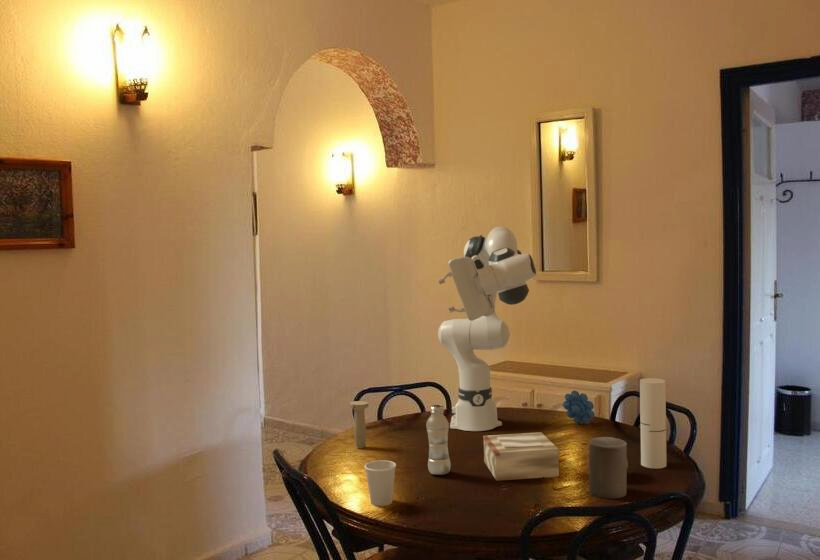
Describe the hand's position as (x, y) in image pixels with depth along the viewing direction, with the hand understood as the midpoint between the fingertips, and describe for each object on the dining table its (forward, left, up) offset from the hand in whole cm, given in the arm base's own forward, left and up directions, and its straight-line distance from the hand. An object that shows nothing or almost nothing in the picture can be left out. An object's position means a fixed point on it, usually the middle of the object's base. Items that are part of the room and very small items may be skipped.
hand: (444, 296), depth 237 cm
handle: (-13, -28, -50) cm, 59 cm away
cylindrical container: (+23, +57, -50) cm, 80 cm away
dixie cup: (+39, -24, -50) cm, 68 cm away
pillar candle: (+43, +36, -50) cm, 76 cm away
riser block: (+19, +18, -50) cm, 57 cm away
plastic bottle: (+19, -6, -50) cm, 54 cm away
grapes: (-26, +50, -50) cm, 76 cm away
